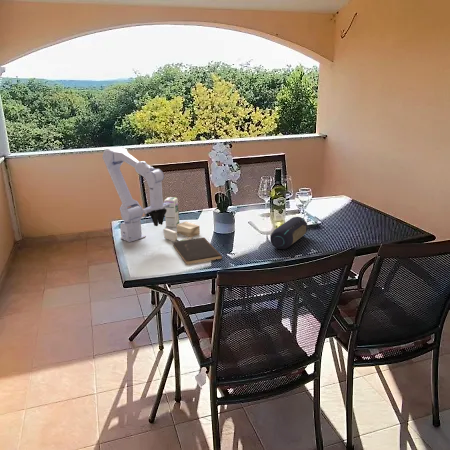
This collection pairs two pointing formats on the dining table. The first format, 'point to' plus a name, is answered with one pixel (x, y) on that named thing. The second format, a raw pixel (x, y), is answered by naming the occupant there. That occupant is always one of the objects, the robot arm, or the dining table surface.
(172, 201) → the syrup box
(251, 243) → the dining table surface
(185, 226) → the tan cardboard box
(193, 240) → the hardcover book
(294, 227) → the portable speaker
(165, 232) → the cream white block
